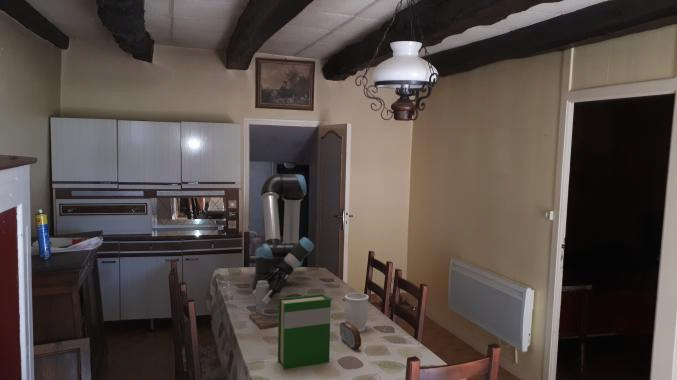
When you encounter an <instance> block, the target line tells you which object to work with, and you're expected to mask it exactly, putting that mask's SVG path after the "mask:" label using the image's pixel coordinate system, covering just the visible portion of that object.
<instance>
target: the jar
mask: <svg viewBox="0 0 677 380" xmlns="http://www.w3.org/2000/svg"><path fill="white" fill-rule="evenodd" d="M369 297H370V296H369V295H368V294H365V293H361V292H360V293H359V292H352V293H350V292H349V293H347V294H345V296H344V299H345V301H344V302H345V303H344V317H345V322H346V321H348V322H349V323H351V324H352V325H353V326H355V327H356V328H357V329H358V331H359V333H363V332H365V330H366V324H367V320H368V316H369V301H368V300H369V299H370V298H369Z"/></svg>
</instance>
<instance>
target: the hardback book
mask: <svg viewBox="0 0 677 380" xmlns="http://www.w3.org/2000/svg"><path fill="white" fill-rule="evenodd" d="M331 303H332V301H331V298H329V296H327V295H325V294H324V293H320V294H319V293H318V294H310V295H309V294H308V295H300V296H297V295H296V296H290V297H289V296H287V297H279V298H278V308H279V311H278V328H277V330H278V331H277V362H278V363H281V364H282V369H283V371H285V370H291V369H297V368H305V367H310V366H315V365H320V364H321V365H322V364H328V363H330V352H331V351H330V350H331V349H330V347H331V346H330V344H331V310H332V309H331V308H332V307H331Z"/></svg>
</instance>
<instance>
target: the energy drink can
mask: <svg viewBox="0 0 677 380" xmlns="http://www.w3.org/2000/svg"><path fill="white" fill-rule="evenodd" d="M269 292H270V291H269V284H268V281H264V280H261V281H258V283H257V285H256V296H255V312H256V314H258V313H260V311H261V310H263V309H265V308H270V306H269V304H270V303H269V302H270V301H269V302H268V303H267V304H265V303H264V302H263V301H262V300H263V299H264V298H265V296H266V295H267V294H268V293H269Z"/></svg>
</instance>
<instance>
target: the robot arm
mask: <svg viewBox="0 0 677 380" xmlns="http://www.w3.org/2000/svg"><path fill="white" fill-rule="evenodd" d="M306 183H307V182H306V178H305V176H304V175H302V174H298V173H297V174H296V173H287V174H286V173H283V174H281V173H277V174H272V175H270V176H269V177H268V178H267V179H265V181H264V182H263V185H262V187H261V189H260V199H261V200H262V202H263V204H262V205H263V220H264V235H265V243H263V244H261V246H260V247H258V248H256V249H255V255H254V258H255V267H254V269H255V270H254V271H255V272H254V277H253V280H252V281H251V282H252V283H251V288H252V289H253V291H252V294H253V295H255V297H256V285H257V283H258V281H261V280H264V281H268V284H269V293H268V294H267V295H266V296H265V298H264V299H263V300H262V301H263V302H264V303H265V304H267V303H268V302H270V301H271V300H272V299H273V297H274V296H276V295H277V294H278V295H279V294H280V293H281V292H282V290H283V288H284V286H285V284H286V283H287V281H288V279H289V278H290V277H289V276H291V274H292V273H293V272H295V271H294V270H296V269H299V268H301V267H302V265H303V262H304V259H305V258H307V256H309V254H310V253H311V252H312V250H313V249H314V247H315V245H314V243H313V242H312V241H311V240H310V239H309V238H308V237H305V236H303V237H302V238H301V239H300V235H299V234H300V231H299V230H300V215H301V214H300V212H301V201H303V199H304V197H305V196H306V195H307V184H306ZM280 196H281V199H282V200H283V201H284V211H283V212H284V213H283V214H284V215H283V216H284V217H283V236H282V237H283V238H282V239H283V241H282V242H281V232H280V231H281V230H280V219H279V218H280V216H279V205H278V204H279V203H278V199H279V198H280Z"/></svg>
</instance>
